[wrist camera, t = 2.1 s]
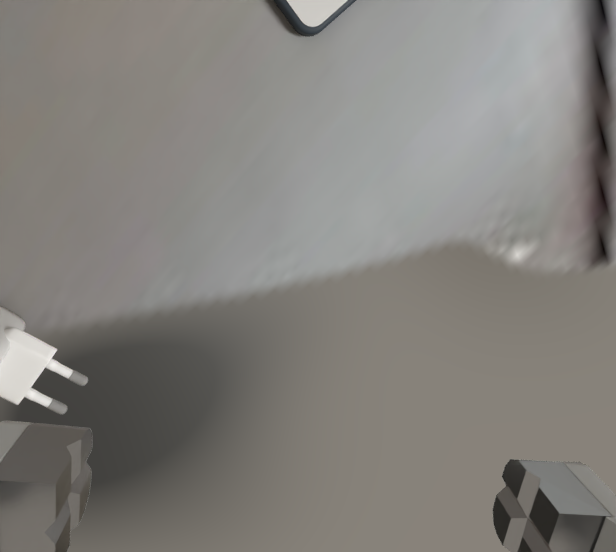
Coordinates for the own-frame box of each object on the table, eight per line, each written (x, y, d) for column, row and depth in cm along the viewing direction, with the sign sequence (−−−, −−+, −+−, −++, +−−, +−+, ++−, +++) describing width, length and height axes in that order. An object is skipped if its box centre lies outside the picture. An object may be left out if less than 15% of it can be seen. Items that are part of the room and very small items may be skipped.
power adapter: (103, 350, 39) (89, 387, 33) (67, 400, 39) (48, 444, 33) (-44, 269, 35) (-88, 295, 29) (-83, 325, 35) (-132, 361, 30)
